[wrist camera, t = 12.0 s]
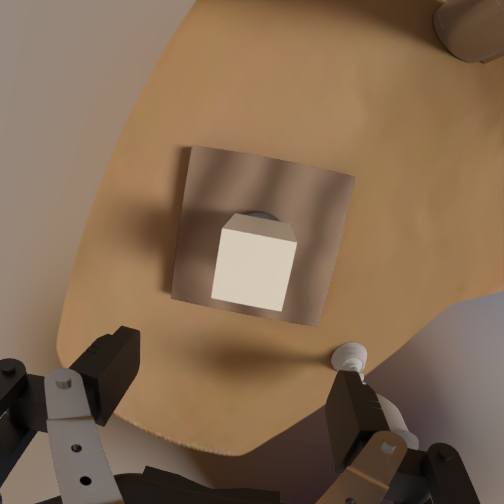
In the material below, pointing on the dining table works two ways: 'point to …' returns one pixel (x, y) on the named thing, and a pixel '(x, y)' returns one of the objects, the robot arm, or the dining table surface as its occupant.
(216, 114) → the dining table surface
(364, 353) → the chalice
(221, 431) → the dining table surface
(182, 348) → the dining table surface
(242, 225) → the cream rectangular block
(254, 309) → the walnut block
